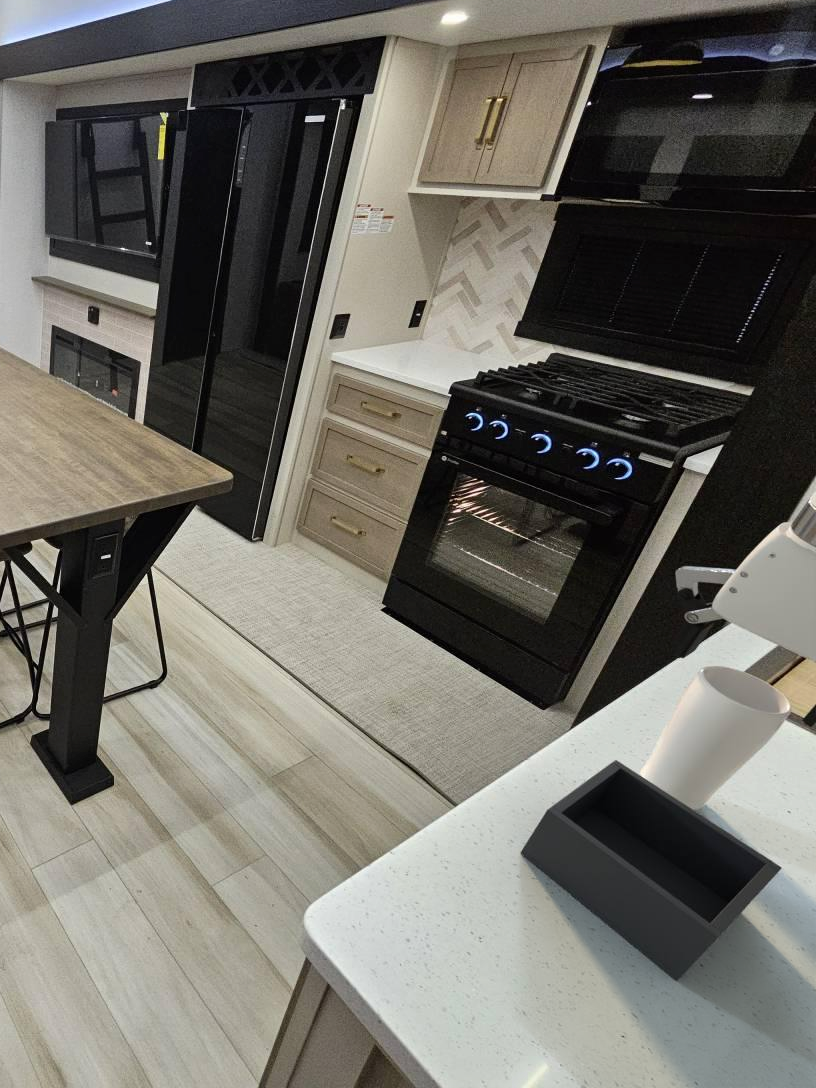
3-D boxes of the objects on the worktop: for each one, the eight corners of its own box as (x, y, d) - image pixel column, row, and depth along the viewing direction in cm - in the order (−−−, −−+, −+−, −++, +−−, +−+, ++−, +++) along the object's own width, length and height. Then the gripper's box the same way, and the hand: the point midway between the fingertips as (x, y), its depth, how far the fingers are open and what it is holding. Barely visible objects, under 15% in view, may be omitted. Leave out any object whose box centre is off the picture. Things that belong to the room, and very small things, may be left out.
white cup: (633, 754, 78) (702, 654, 70) (713, 792, 73) (793, 690, 66) (624, 789, 73) (696, 687, 66) (708, 831, 69) (794, 727, 62)
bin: (587, 802, 72) (615, 759, 69) (740, 911, 62) (782, 867, 59) (519, 853, 66) (547, 809, 63) (676, 981, 57) (718, 937, 54)
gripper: (1032, 581, 53) (885, 736, 61) (745, 483, 66) (656, 621, 74) (1007, 607, 50) (856, 766, 58) (711, 498, 63) (622, 641, 71)
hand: (744, 684), depth 66 cm, fingers open, 9 cm apart
